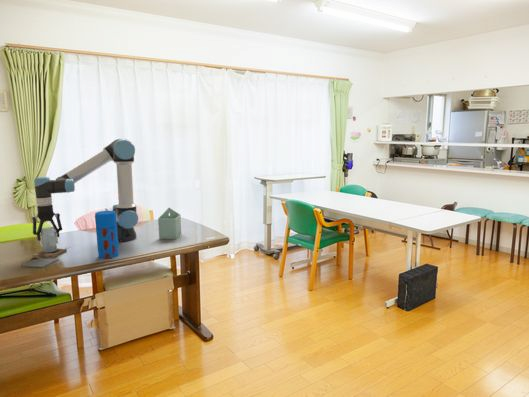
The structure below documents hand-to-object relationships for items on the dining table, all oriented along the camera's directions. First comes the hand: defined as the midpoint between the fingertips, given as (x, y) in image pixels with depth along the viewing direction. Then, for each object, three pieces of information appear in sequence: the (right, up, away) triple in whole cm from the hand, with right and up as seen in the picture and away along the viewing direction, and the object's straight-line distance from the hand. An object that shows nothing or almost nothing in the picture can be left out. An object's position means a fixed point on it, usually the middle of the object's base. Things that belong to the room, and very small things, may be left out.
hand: (49, 244), depth 213 cm
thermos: (+34, -7, -1) cm, 35 cm away
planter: (+62, 0, +36) cm, 71 cm away
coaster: (+3, -9, -12) cm, 15 cm away
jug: (+1, -4, -1) cm, 4 cm away
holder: (0, -6, +1) cm, 6 cm away
